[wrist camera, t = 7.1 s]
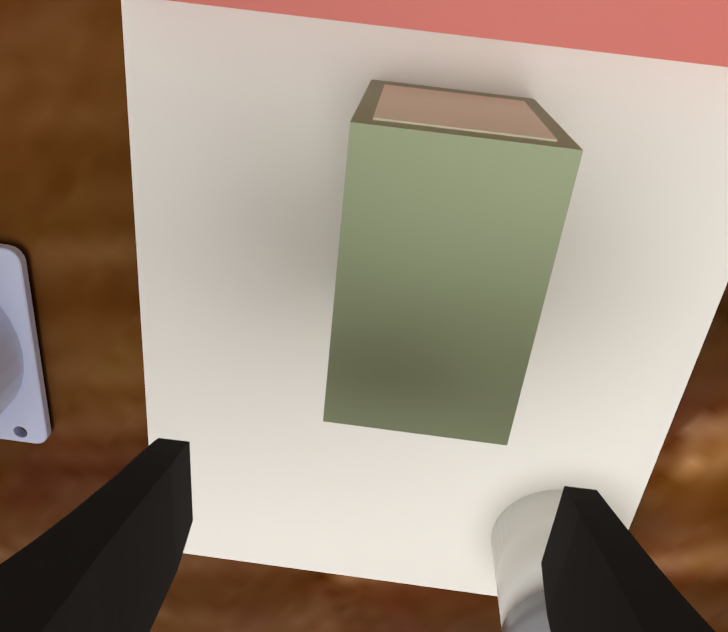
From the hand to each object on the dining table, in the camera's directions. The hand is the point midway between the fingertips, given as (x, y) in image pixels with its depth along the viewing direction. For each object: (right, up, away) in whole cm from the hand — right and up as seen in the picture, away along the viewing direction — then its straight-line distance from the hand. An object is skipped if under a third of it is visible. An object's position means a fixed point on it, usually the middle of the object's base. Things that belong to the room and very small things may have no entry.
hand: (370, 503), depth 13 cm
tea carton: (+2, +7, +7) cm, 10 cm away
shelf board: (+1, +3, +9) cm, 10 cm away
